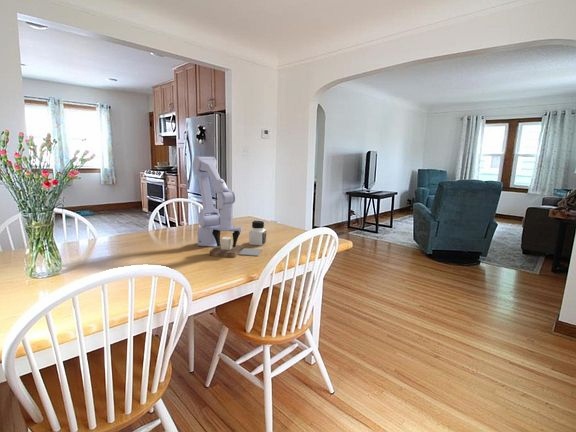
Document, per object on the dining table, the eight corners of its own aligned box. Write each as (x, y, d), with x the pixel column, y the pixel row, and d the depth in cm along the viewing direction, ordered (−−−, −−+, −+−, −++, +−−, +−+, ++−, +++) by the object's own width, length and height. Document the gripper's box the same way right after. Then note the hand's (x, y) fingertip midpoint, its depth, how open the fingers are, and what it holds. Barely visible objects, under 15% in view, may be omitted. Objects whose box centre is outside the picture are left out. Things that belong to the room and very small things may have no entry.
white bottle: (262, 245, 160) (262, 222, 158) (249, 244, 162) (249, 221, 159) (266, 242, 167) (266, 220, 165) (253, 241, 168) (253, 219, 166)
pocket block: (209, 255, 143) (209, 251, 142) (218, 247, 155) (218, 243, 154) (235, 257, 141) (235, 252, 141) (242, 249, 153) (242, 245, 153)
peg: (221, 253, 146) (220, 238, 145) (223, 250, 150) (223, 236, 149) (229, 254, 146) (229, 239, 144) (232, 251, 150) (231, 237, 148)
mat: (238, 254, 145) (238, 253, 145) (243, 249, 154) (243, 248, 153) (257, 256, 144) (257, 255, 144) (261, 250, 153) (261, 249, 152)
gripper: (207, 218, 142) (208, 247, 144) (239, 220, 140) (239, 249, 143) (213, 215, 149) (213, 243, 151) (243, 217, 147) (243, 245, 150)
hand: (226, 246), depth 147 cm, fingers open, 7 cm apart
